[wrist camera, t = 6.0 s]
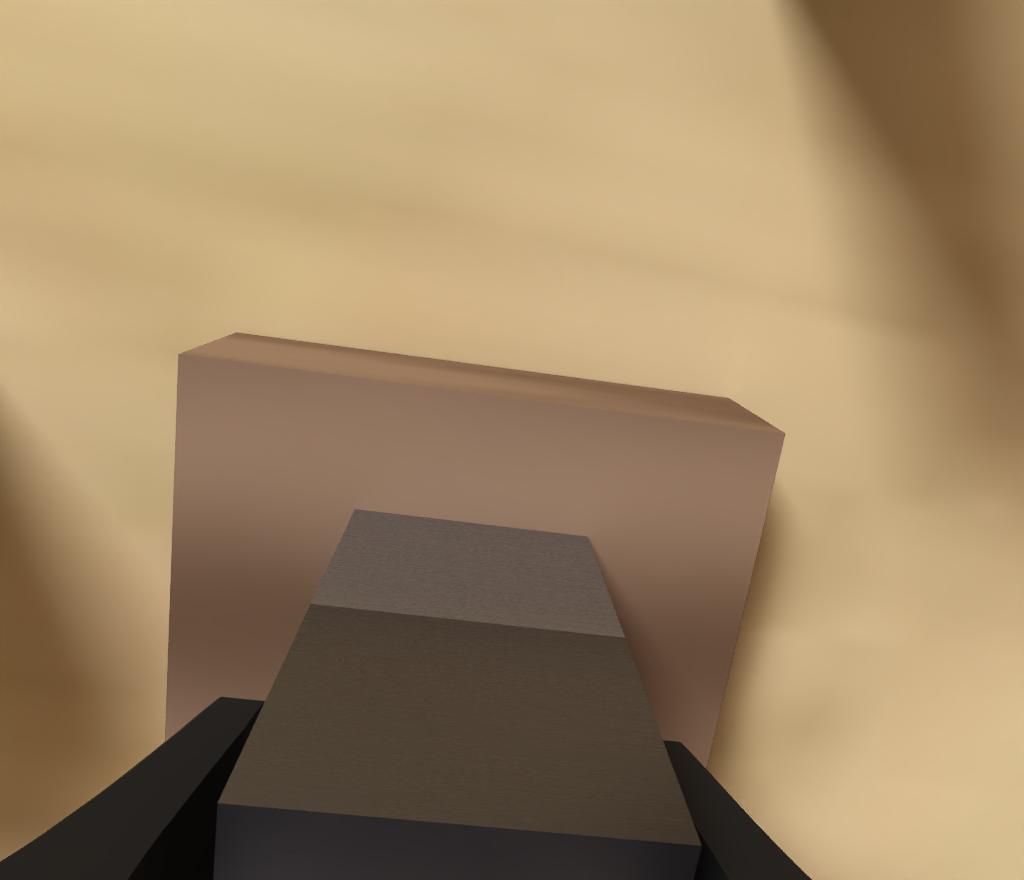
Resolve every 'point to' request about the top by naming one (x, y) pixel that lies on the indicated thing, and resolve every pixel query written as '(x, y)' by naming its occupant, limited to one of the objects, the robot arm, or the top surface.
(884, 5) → the top surface
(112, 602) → the top surface
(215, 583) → the stand
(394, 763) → the block
